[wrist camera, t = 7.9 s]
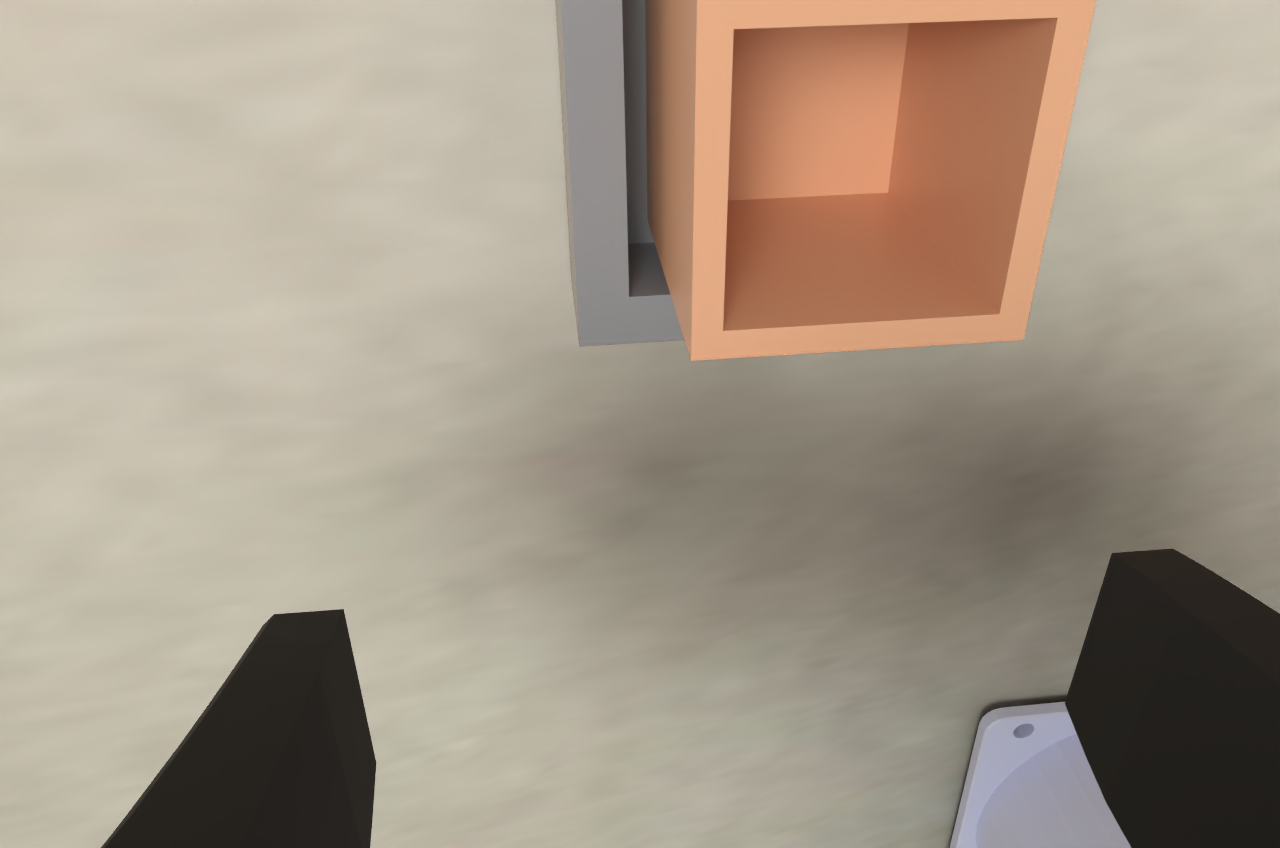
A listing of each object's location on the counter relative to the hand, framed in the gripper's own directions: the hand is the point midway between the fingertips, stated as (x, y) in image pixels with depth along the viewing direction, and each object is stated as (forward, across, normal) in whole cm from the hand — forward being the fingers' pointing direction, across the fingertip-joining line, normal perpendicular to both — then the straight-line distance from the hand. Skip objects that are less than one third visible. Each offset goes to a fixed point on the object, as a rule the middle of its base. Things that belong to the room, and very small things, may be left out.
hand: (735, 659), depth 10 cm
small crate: (+9, -2, -3) cm, 10 cm away
